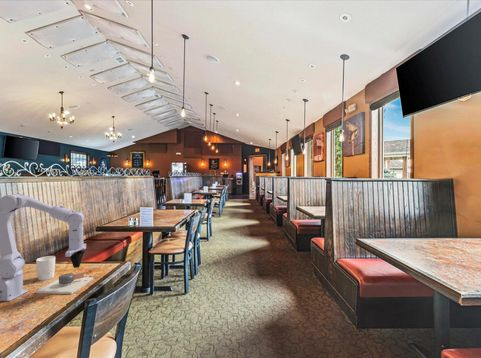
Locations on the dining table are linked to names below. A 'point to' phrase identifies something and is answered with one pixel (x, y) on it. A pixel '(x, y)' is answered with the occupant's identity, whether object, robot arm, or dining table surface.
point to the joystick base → (64, 286)
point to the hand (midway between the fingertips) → (76, 267)
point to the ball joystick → (70, 277)
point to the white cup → (45, 267)
